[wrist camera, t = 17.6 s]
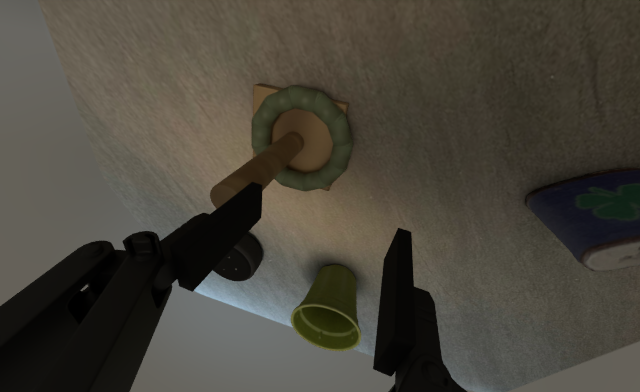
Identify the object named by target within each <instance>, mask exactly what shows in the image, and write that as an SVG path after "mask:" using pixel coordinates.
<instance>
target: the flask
mask: <svg viewBox="0 0 640 392" xmlns="http://www.w3.org/2000/svg"><path fill="white" fill-rule="evenodd" d="M527 200H528V201H527ZM526 202H527V203H526V204H527V207H528V208H529V209H530V210H531V211H532V212H533V213H534V214H535V215H536V216H537V217H538V218H539V219H540V220H541V221H542V222H543V223H544V224H545V225H546V226H547V228H548V229H550V230H551V231H552V232H553V233H554V234H555V235H556V236H557V237H558V239H559V240H560V241H561V242H562V243H563V244H564V245H565V246H566V247H567V248H568V249H569V250H570V251H571V252H572V254H573V255H574V257H575V258H576V259H577V261H578V262H580V263H582V264H583V265H584V266H585V267H586V268H589V269H591V270H592V271H612V270H616V269H622V268H629V267H633V266H640V167H638V168H634V167H629V168H622V169H612V170H609V171H601V172H595V173H592V174H587V175H584V176H581V177H578V178H572V179H569V180H565V181H561V182H559V183H554V184H551V185H549V186H544V187H541V188H539V189H538V190H536V191H533V192H532V193H530V194H528V196H527V198H526Z"/></svg>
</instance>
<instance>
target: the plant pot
mask: <svg viewBox="0 0 640 392" xmlns="http://www.w3.org/2000/svg"><path fill="white" fill-rule="evenodd" d="M291 323H292V326H293V328H294V329H295V331H296V332H297V333H298V334H299V335H300V336H301V337H302V338H303V339H305V340H306V341H308V342H309V343H311V344H313V345H315V346H317V347H320V348H323V349H327V350H332V351H346V350H350V349H353V348H355V347H356V346H357V345H358V344H359V343H360V341H361V331H360V328H359V326H358V319H357V308H356V278H355V277H354V275H353V274H352V272H351V271H350V270H349V269H347V268H345V267H343V266H340V265H334V264H333V265H330V266H324V267H323V268H321V270H320V271H319V273H318V275H317V277H316V279H315V281H314V283H313V285H312V286H311V288H310V290H309V292H308V294H307V296H306V297H305V299H304V300H303V301H302V302H301V304H300V305H299V306H298V307H296V308H295V309H294V311H293V312H292V315H291Z"/></svg>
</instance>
